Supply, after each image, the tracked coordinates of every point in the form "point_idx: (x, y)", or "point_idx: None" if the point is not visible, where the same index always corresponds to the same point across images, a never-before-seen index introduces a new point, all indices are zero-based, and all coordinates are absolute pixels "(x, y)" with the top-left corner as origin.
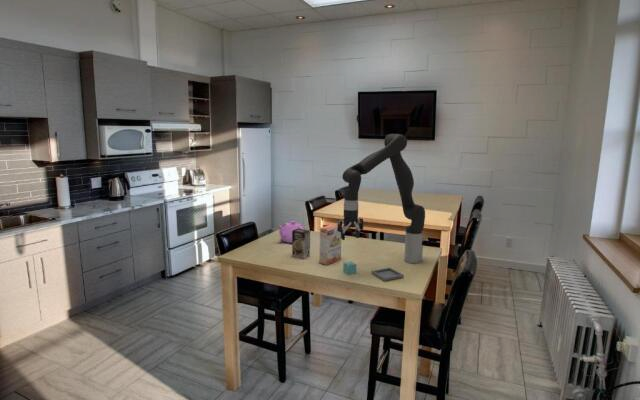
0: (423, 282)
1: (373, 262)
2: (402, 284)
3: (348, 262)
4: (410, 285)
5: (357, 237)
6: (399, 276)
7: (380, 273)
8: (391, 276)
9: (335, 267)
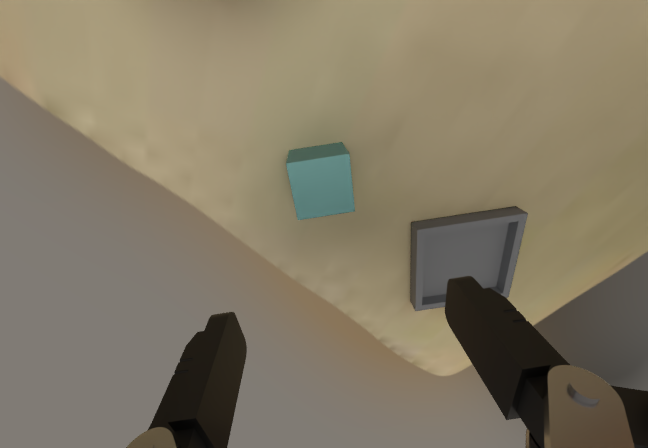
0: None
1: (540, 49)
2: None
3: (321, 168)
4: None
5: (449, 318)
6: None
7: (447, 237)
8: None
9: (262, 63)
